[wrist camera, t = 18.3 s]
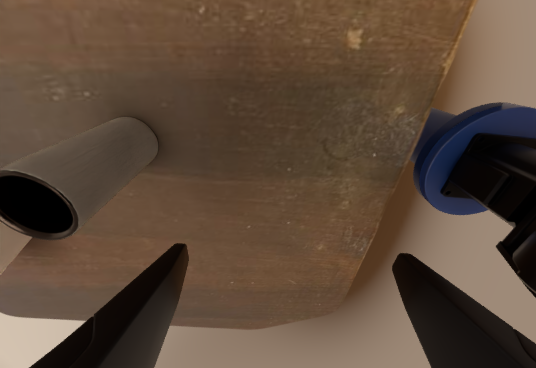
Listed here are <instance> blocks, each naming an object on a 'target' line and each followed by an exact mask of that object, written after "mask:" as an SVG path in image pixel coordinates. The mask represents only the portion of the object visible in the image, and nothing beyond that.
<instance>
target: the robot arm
mask: <svg viewBox="0 0 536 368" xmlns="http://www.w3.org/2000/svg"><path fill="white" fill-rule="evenodd" d="M479 138H480V139H479ZM440 193H441V194H442V195H443V196H445V197H453V198H465V199H474V200H475V201H477V202H478V203H480V204H481V205H482V206H484V207H485V208H487V209H488V210H490V211H491V212H492V213H494V214H495V215H497V216H498V217H500V218H501V219H502V220H504V221H505V222H507V223H508V224H509V225H511V226H513V227H514V228H513V230H512V231H511V232H510V233H509V234H508V235H507V236H506V237H505V239H504V240H503V241H500V242H499V243H498V244H497V245H496V248H497V249H498V251H499V252H500V253H501V254H502V256H503V257H504V258H505V260H506V261H507V262H508V264H509V265H510V266H511V268H512V269H513V270H514V271H515V273H516V274H517V276H518V277H519V278H520V280H521V281H522V282H523V284H524V285H525V286H526V287H527V289H528V290H529V291H530V292H531V293H532V294H533V295H534V296H535V297H536V138H527V137H518V136H509V135H500V134H490V133H477V134H475V135H474V136H473V137H472V139H471V141H470V142H469V144H468V146H467V147H466V149H465V151H464V152H463V154H462V156H461V157H460V159H459V161H458V162H457V164H456V166H455V167H454V169H453V171H452V172H451V174H450V175H449V177H448V179H447V180H446V182H445V184H444V185H443V187H442V189H441V191H440ZM188 261H189V256H188V250H187V245H186V244H182V243H176V244H174V245H173V246H172V247H171V248H170V249H168V250H167V251H166V252H165V253H164V254H163V255H162V256H160V257H159V258H158V259H157V260H156V261H155V262H154V263H152V264H151V265H150V266H149V267H148V268H147V269H146V270H144V271H143V272H142V273H141V274H140V275H139V276H138V277H136V278H135V279H134V280H133V281H132V282H131V283H130V284H128V285H127V286H126V287H125V288H124V289H123V290H122V291H120V292H119V293H118V294H117V295H116V296H115V297H114V298H112V299H111V300H110V301H109V302H108V303H107V304H106V305H104V306H103V307H102V308H101V309H100V310H99V311H97V312H96V313H95V314H94V317H91V318H89V319H88V320H87V321H86V322H85V323H84V324H83V325H81V326H80V327H79V328H78V329H77V330H76V331H75V332H73V333H72V334H71V335H70V336H68V337H67V338H66V339H65V340H64V341H63V342H61V343H60V344H59V345H57V346H56V347H55V348H54V349H52V350H51V351H50V352H49V353H47V354H46V355H45V356H44V357H43V358H41V359H40V360H38V361H37V362H36V363H35V364H33V365H32V366H31V367H29V368H154V367H155V364H156V361H157V358H158V356H159V353H160V350H161V348H162V345H163V342H164V339H165V337H166V334H167V331H168V329H169V326H170V323H171V320H172V318H173V315H174V312H175V309H176V307H177V304H178V301H179V297H180V294H181V290H182V286H183V282H184V278H185V274H186V270H187V266H188ZM392 271H393V274H394V277H395V280H396V283H397V286H398V289H399V292H400V295H401V298H402V301H403V303H404V306H405V309H406V311H407V314H408V316H409V318H410V320H411V323H412V325H413V327H414V329H415V332H416V334H417V336H418V338H419V341H420V343H421V345H422V347H423V350H424V352H425V354H426V356H427V359H428V361H429V363H430V365H431V368H536V344H535V343H534V342H532V341H531V340H530V339H528V338H527V337H525V336H524V335H523V334H521V333H520V332H519V331H517V330H515V329H513V327H512V326H510V325H509V324H507V323H506V322H505V321H503V320H502V319H500V318H499V317H498V316H496V315H495V314H493V313H492V312H491V311H489V310H488V309H486V308H485V307H484V306H482V305H481V304H480V303H478V302H477V301H475V300H474V299H473V298H471V297H470V296H468V295H467V294H466V293H464V292H463V291H461V290H460V289H459V288H457V287H456V286H455V285H453V284H452V283H450V282H449V281H448V280H446V279H445V278H443V277H442V276H441V275H439V274H438V273H436V272H435V271H434V270H432V269H431V268H430V267H428V266H427V265H425V264H424V263H423V262H421V261H420V260H418V259H417V258H416V257H414V256H413V255H411V254H408V253H400V254H399V255H398V256H397V258H396V260H395V262H394V264H393V266H392Z"/></svg>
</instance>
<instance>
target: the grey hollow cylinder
mask: <svg viewBox="0 0 536 368" xmlns="http://www.w3.org/2000/svg"><path fill="white" fill-rule="evenodd" d="M157 152H158V141H157V138H156V136H155V134H154V133H153V131H152V130H151V129H150V128H149V127H148V126H147V125H146V124H145V123H143V122H142V121H140V120H138V119H135V118H132V117H118V118H115V119H112V120H110V121H108V122H105V123H103V124H101V125H98V126H96V127H94V128H91V129H89V130H87V131H84V132H82V133H80V134H77V135H75V136H73V137H70V138H68V139H66V140H63V141H61V142H59V143H56V144H54V145H52V146H49V147H47V148H45V149H42V150H40V151H38V152H35V153H33V154H31V155H28V156H26V157H24V158H22V159H19V160H17V161H15V162H12V163H10V164H8V165H5V166H3V167H1V168H0V222H2V223H3V224H5V225H6V226H8V227H9V228H11V229H13V230H15V231H17V232H19V233H21V234H24V235H27V236H30V237H33V238H37V239H43V240H60V239H64V238H67V237H70V236H72V235H73V234H74V233H75V232H77V231H78V230H79V229H80V228H81V227H82V226H83V225H84V224H85V223H86V222H87V221H88V220H89V219H90V218H92V217H93V216H94V215H95V214H96V213H97V212H98V211H99V210H100V209H101V208H102V207H103V206H104V205H105V204H106V203H108V202H109V201H110V200H111V199H112V198H113V197H114V196H115V195H116V194H117V193H118V192H119V191H120V190H121V189H122V188H123V187H125V186H126V185H127V184H128V183H129V182H130V181H131V180H132V179H133V178H134V177H135V176H136V175H137V174H138V173H139V172H141V171H142V170H143V169H144V168H145V167H146V166H147V165H148V164H149V163H150V162H151V161H152V160H153V159H154V158H155V156H156V155H157Z"/></svg>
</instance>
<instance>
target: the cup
mask: <svg viewBox="0 0 536 368" xmlns="http://www.w3.org/2000/svg"><path fill="white" fill-rule="evenodd" d="M31 238H32V237H30V236H27V235H24V234H21V233H19V232H17V231H15V230H13V229H11V228H9V227H8V226H6V225H5V224H3V223H2V222H0V275H1V274H2V273H3V271H4V270H5V269H6V268H7V267H8V265H9V264H10V263H11V262H12V261H13V260H14V258H15V257H16V256H17V255H18V254H19V252H20V251H21V250H22V249H23V248H24V247H25V245H26V244H27V243H28V242H29V241H30V240H31Z"/></svg>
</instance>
